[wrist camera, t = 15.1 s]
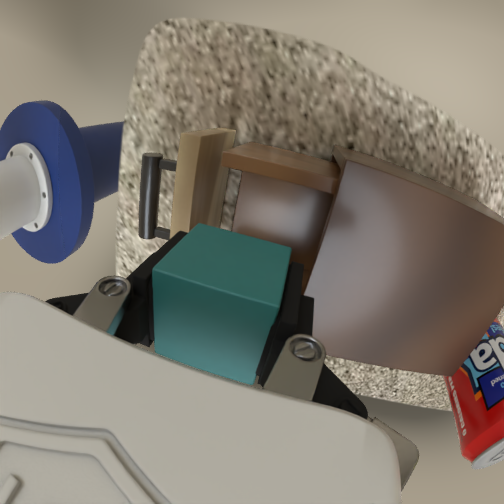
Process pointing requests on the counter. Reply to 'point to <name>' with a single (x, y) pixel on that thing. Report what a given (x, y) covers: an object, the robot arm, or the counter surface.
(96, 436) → the robot arm
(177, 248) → the block
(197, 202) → the drawer
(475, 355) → the soda can
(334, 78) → the counter surface
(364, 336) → the cabinet
